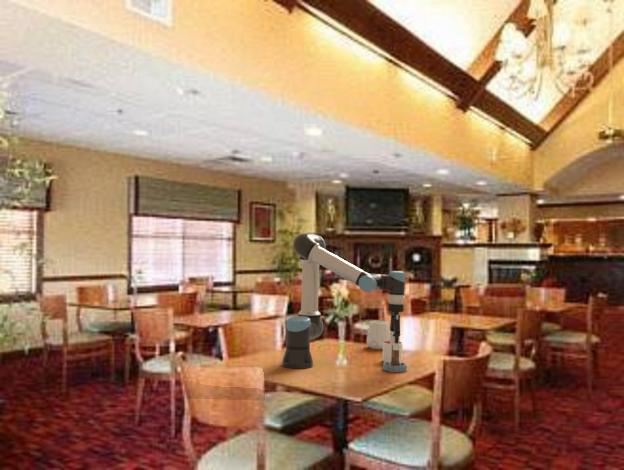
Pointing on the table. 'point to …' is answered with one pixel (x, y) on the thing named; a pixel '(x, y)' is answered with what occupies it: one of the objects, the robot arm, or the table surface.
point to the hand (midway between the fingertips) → (394, 347)
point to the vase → (378, 334)
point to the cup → (388, 349)
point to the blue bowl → (394, 367)
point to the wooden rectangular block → (394, 357)
